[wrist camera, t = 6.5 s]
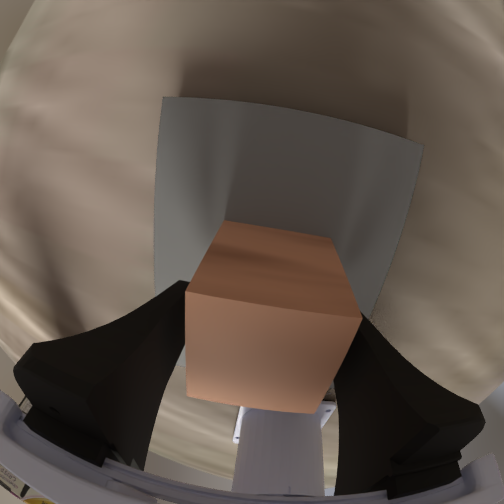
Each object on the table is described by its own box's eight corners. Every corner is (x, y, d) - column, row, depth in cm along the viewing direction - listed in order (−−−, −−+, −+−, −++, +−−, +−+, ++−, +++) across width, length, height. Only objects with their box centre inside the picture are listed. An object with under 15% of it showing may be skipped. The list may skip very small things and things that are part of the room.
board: (330, 368, 19) (333, 388, 17) (169, 342, 19) (160, 361, 18) (407, 142, 12) (424, 145, 10) (177, 99, 13) (162, 96, 11)
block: (306, 322, 15) (314, 413, 10) (215, 307, 15) (186, 395, 10) (330, 238, 13) (362, 318, 7) (224, 220, 13) (185, 291, 8)
